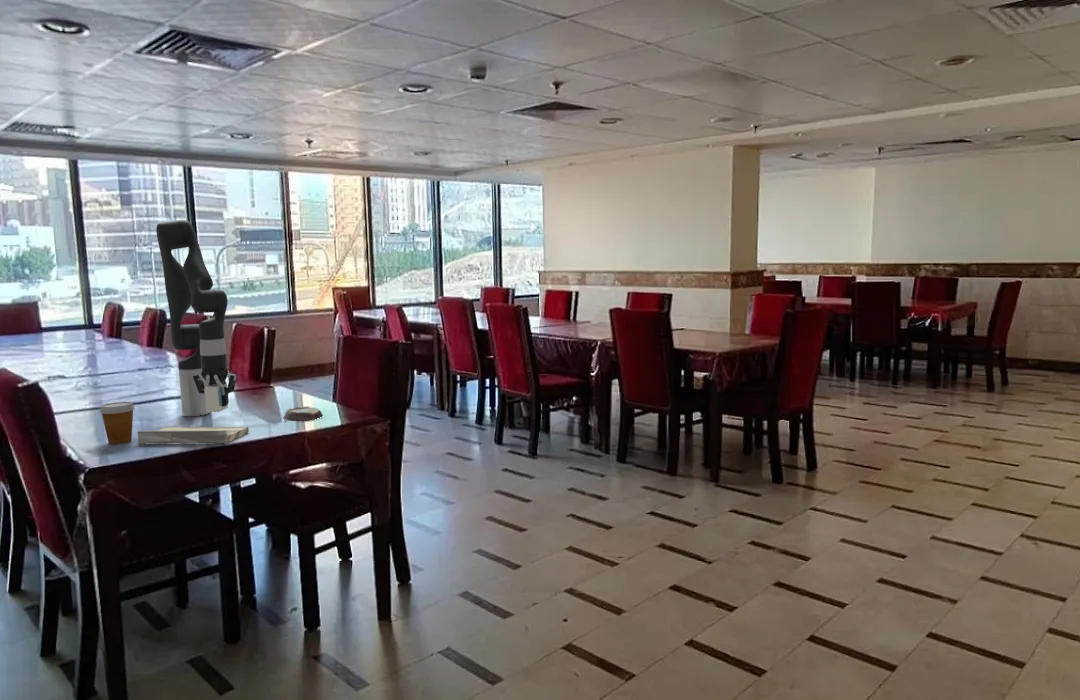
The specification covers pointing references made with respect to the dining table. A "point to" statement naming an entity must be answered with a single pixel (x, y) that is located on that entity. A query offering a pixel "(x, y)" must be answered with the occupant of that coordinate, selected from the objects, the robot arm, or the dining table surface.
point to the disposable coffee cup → (118, 421)
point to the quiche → (302, 414)
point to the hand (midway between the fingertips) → (217, 405)
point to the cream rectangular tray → (191, 435)
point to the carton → (213, 399)
